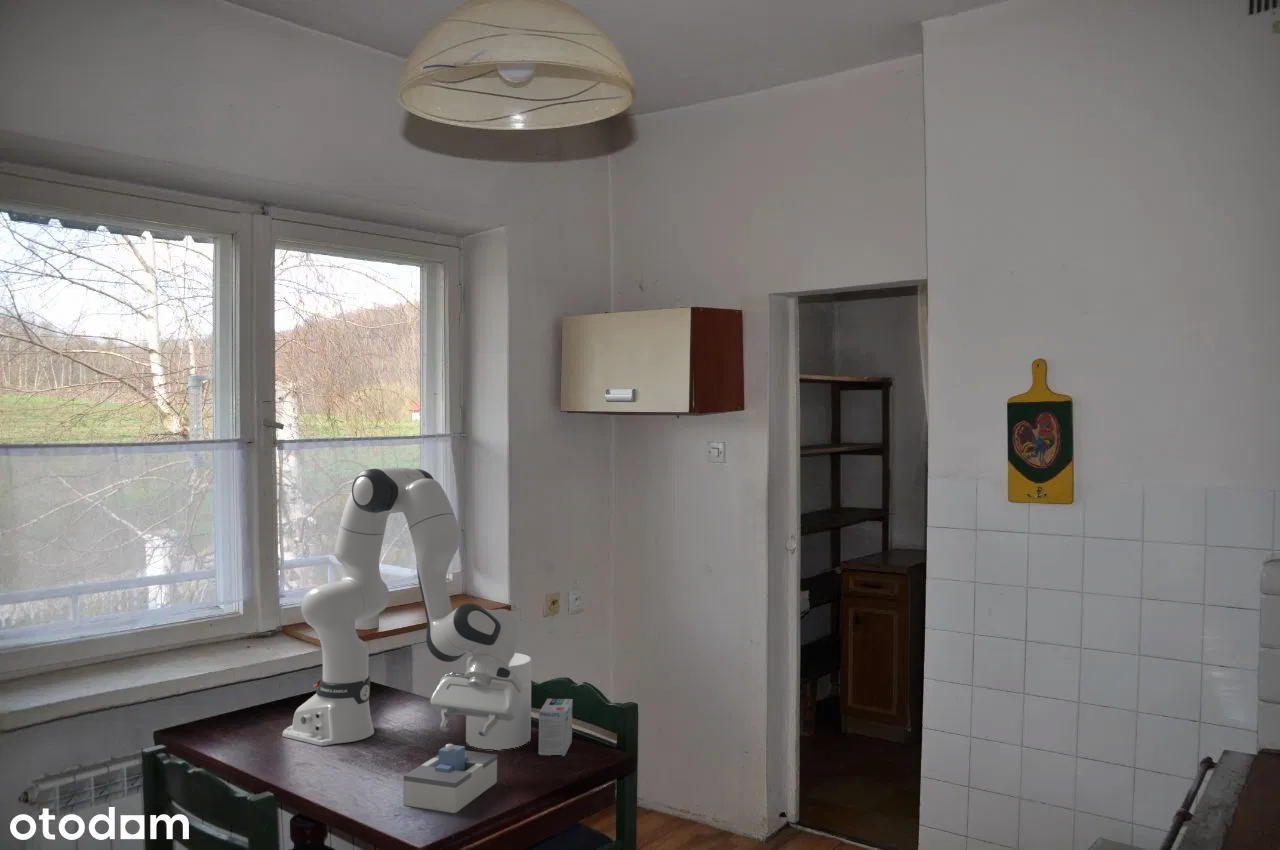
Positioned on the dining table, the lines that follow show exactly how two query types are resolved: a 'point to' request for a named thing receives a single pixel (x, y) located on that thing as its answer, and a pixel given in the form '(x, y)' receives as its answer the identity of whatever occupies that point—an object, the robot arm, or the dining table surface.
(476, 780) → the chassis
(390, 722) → the dining table surface
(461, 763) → the block
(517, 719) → the canister
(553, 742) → the light bulb box
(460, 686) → the robot arm
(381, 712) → the dining table surface
